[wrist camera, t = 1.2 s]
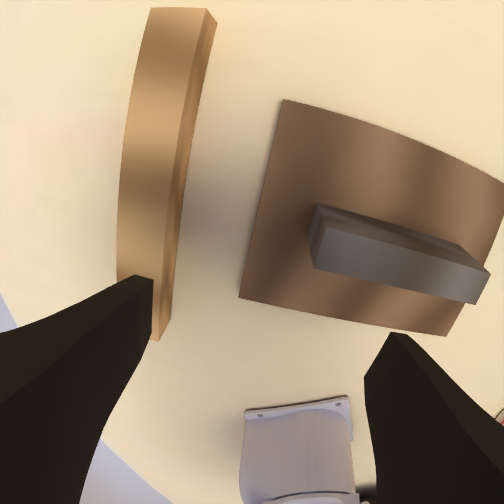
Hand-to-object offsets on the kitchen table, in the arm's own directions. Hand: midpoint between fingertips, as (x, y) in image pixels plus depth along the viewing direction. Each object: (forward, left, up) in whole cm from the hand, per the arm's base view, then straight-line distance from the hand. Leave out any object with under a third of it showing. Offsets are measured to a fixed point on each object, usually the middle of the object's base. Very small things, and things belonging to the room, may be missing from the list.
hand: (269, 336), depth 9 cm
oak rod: (-6, +4, -11) cm, 13 cm away
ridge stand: (+6, -2, -10) cm, 12 cm away
